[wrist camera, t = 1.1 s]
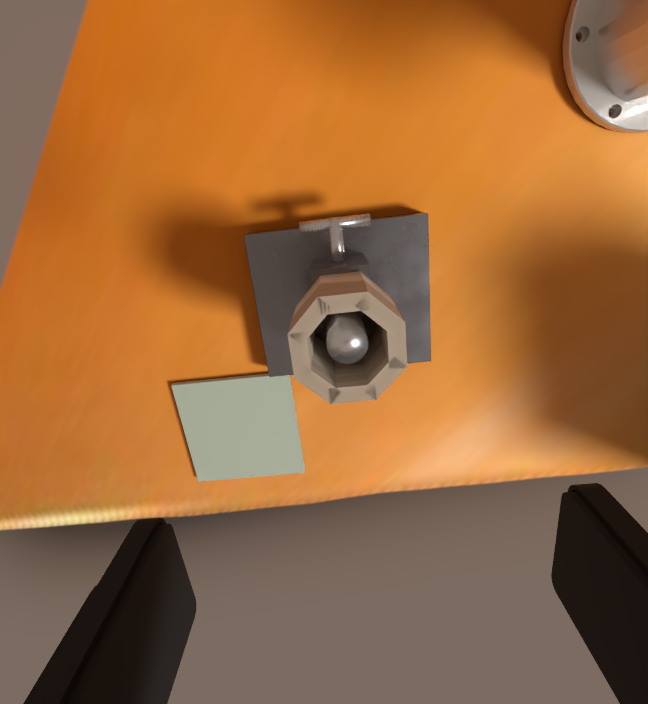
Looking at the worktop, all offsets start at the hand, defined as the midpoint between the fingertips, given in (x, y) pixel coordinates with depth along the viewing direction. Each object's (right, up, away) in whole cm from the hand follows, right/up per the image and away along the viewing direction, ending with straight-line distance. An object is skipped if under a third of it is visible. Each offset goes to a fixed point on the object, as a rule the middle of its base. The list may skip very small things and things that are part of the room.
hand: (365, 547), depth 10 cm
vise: (0, +9, +25) cm, 26 cm away
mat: (-9, -3, +29) cm, 31 cm away
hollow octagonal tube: (0, +7, +18) cm, 19 cm away
